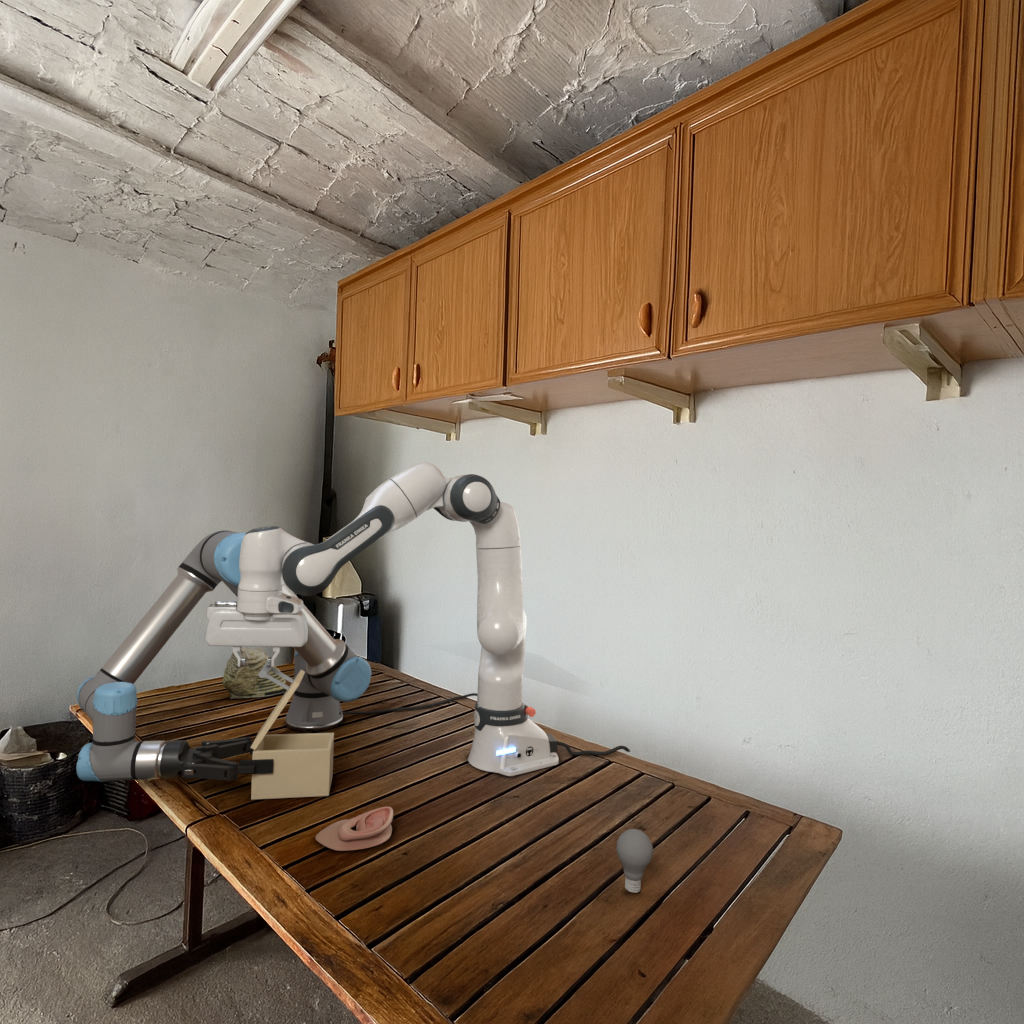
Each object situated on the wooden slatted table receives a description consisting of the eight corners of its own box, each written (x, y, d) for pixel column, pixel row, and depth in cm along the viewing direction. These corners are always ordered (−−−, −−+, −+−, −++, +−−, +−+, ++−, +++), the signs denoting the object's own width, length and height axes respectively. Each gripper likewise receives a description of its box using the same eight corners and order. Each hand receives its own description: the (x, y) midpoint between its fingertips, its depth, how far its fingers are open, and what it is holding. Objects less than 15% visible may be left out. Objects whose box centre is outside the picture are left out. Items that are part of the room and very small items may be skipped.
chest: (332, 776, 144) (334, 732, 143) (328, 795, 134) (330, 749, 134) (260, 779, 141) (261, 734, 140) (250, 799, 131) (252, 752, 131)
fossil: (218, 695, 195) (220, 647, 195) (278, 685, 208) (279, 640, 207) (228, 703, 189) (230, 653, 188) (289, 692, 201) (290, 645, 201)
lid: (305, 671, 142) (272, 652, 140) (299, 684, 132) (264, 664, 131) (263, 733, 141) (230, 714, 139) (255, 750, 131) (219, 730, 130)
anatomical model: (307, 824, 115) (337, 795, 126) (306, 846, 115) (336, 815, 126) (376, 835, 112) (400, 805, 123) (375, 857, 112) (399, 825, 123)
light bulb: (610, 879, 108) (613, 822, 108) (644, 879, 109) (647, 822, 109) (619, 902, 102) (622, 840, 102) (655, 901, 103) (658, 840, 103)
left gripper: (180, 756, 143) (284, 752, 148) (143, 802, 121) (266, 797, 126) (182, 723, 143) (285, 721, 147) (145, 764, 121) (268, 760, 126)
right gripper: (203, 603, 130) (199, 670, 130) (306, 605, 134) (303, 670, 134) (211, 598, 136) (208, 662, 136) (310, 600, 140) (307, 662, 140)
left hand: (277, 756), depth 137 cm, fingers closed on chest, 10 cm apart
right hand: (256, 666), depth 135 cm, fingers open, 4 cm apart
